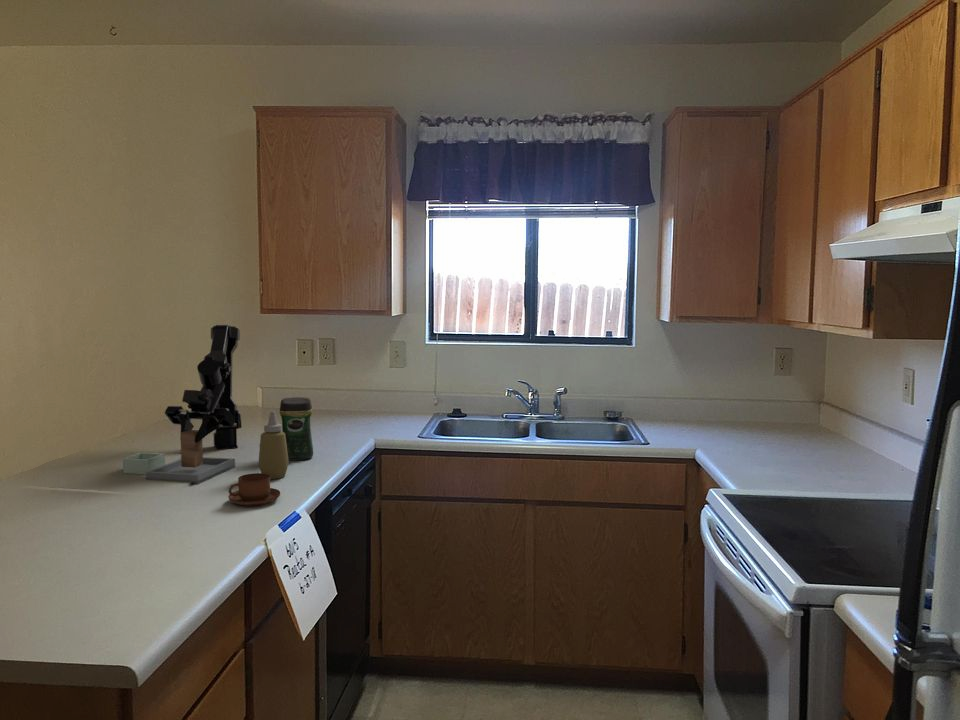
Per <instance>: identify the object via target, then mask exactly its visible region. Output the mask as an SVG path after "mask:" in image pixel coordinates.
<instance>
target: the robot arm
mask: <svg viewBox="0 0 960 720" xmlns="http://www.w3.org/2000/svg"><path fill="white" fill-rule="evenodd" d="M240 332H241V331H240V328H238V327H236V325H235V326H234V325H232V326H231V325H228V324H215V325H213V326H212V327H210V340H211V346H210V349H209V350H210V351H209V353H207V354H206V355H205V356H204V358H203V360H201V361H200V362H199V363H198V364H197V366H196V367H197V368H196V369H197V374H198V377H199V380H200V384H201V385H202V386H201V388H200V390H197V389H196V390H195V389H184V390H183V391H184V392H183V396H182V400H181V401H182V402H183V403H186V404H187V408H188V409H190V410H188V409H185V408H183V407H182V405H169V406H167V407H166V409H165V410H164V415H165V416H166V417H167V419H169V421H170V422H171V423H172V424H173V425H179V426H180V433H181V432H184V431H187V430H194V427H195V426H194V424H193V423H192V420H199V421H200V420H201V425H200V426H199V429H198V430H199V431H198V433H197V435H196V438H195V442H196V443H198V442H199V441H200V440H202V441H203V439H204V438H205V437H207V436H208V435H210V434H211V433H212V432H213V434H212V435H213V437H212V438H213V447H214V448H215V449H216V450H223V449H224V450H225V449H237V448H238V447H239V446H238V442H237V441H238V440H237V439H238V438H237V437H238V436H237V435H238V434H237V433H238V432H237V431H238V429H242V417H241V414H240V412H239V410H238V408H237V407H238V405H237V404H236V402H235V400H233V356H234V352H235V351H236V350H237V348H238V346H239V341H240V339H241V333H240ZM214 431H215V432H214ZM179 439H180V441H181V435H180V438H179Z"/></svg>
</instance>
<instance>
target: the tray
mask: <svg viewBox="0 0 960 720" xmlns="http://www.w3.org/2000/svg"><path fill="white" fill-rule="evenodd" d="M234 468H236V458H230V457H229V458H227V457H211V456H210V457H207V456H203V464H202V465H200V466H197V467H195V468H194V467H182V466H181V458H178V459H176V460H174V461H171V462H169V463H165V465H163V466H161V467H158V468H155V469H153V470H150V471H148V472H146V474H145V479H146V480H158V481H172V482H174V481H175V482H190V483H189V484H190V485H200V484H201V483H204V482H206V481H208V480H210V479H212V478H214V477H217V476H219V475H221V474H223V473H226V472H227V471H229V470H232V469H234Z"/></svg>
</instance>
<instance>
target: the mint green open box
mask: <svg viewBox="0 0 960 720" xmlns="http://www.w3.org/2000/svg"><path fill="white" fill-rule="evenodd" d="M163 465H166V456H165V453H156V452H138V453H136V454H132V455H128V456H127V457H124V458H122V470H123V471H122V473H123V474H124V473H125V474H135V475H137V474H139V475H140V474H141V475H142V474H143V475H146V472H148V471H150V470H153V469H155V468H158V467H161V466H163Z"/></svg>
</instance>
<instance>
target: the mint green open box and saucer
mask: <svg viewBox="0 0 960 720" xmlns="http://www.w3.org/2000/svg"><path fill="white" fill-rule="evenodd" d="M237 479H238V480H237V483H232V484H231V485H230V486H229V488H228V500H229V501H230V502H232V504H235V505H239V506H249V507H250V506H261V505H267V504H268V503H269V504H270V503H272V502H274V501H276V500H277V499H278V498H279V497H280V496H281V491H280V490H279V489H276V488H272V487H271V479H270V475H268V474H263V473H261V472H260V473H259V472H257V473H247V474H243V475H240V476H239V477H238V478H237ZM234 487H238V490H236V491H232V490H233V488H234Z"/></svg>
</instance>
